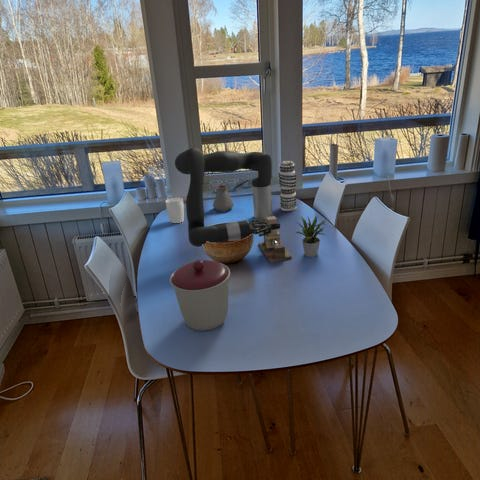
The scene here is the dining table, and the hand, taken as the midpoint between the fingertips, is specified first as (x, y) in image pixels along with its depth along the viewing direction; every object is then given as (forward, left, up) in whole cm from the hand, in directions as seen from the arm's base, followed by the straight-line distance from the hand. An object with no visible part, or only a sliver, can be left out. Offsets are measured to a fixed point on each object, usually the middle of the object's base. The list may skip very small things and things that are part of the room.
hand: (278, 224), depth 166 cm
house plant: (+11, +10, -11) cm, 19 cm away
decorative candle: (-46, +19, -11) cm, 51 cm away
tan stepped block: (0, -3, -9) cm, 10 cm away
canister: (+42, -37, -11) cm, 57 cm away
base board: (+2, -3, -11) cm, 12 cm away
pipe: (+2, -3, -8) cm, 8 cm away
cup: (-51, -40, -11) cm, 66 cm away
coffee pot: (-59, -9, -11) cm, 61 cm away
